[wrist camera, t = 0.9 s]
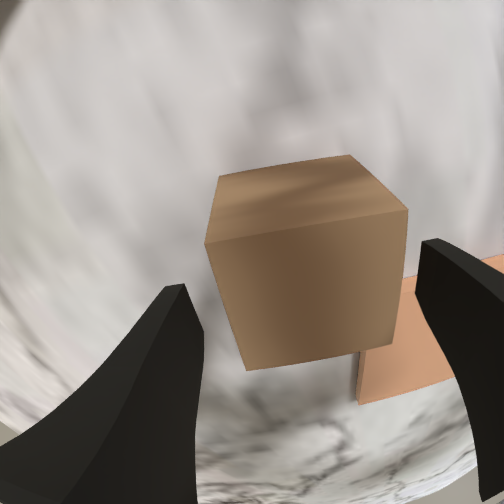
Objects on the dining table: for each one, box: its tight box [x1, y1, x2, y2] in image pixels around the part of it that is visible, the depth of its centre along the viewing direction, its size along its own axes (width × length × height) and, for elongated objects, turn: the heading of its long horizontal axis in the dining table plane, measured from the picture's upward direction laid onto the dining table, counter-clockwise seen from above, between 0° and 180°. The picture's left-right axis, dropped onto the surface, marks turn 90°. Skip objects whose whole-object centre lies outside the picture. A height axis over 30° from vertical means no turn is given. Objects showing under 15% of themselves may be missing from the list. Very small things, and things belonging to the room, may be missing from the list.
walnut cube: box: [204, 155, 408, 371], centre depth 11 cm, size 5×5×5 cm
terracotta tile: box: [355, 254, 504, 405], centre depth 16 cm, size 10×10×1 cm
